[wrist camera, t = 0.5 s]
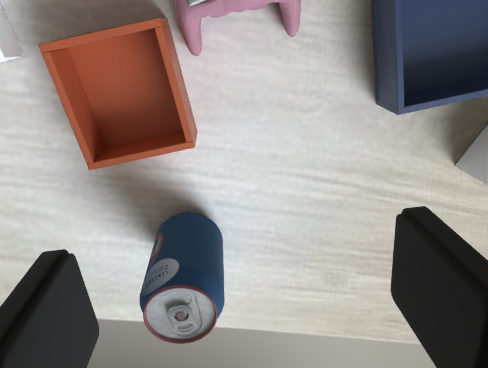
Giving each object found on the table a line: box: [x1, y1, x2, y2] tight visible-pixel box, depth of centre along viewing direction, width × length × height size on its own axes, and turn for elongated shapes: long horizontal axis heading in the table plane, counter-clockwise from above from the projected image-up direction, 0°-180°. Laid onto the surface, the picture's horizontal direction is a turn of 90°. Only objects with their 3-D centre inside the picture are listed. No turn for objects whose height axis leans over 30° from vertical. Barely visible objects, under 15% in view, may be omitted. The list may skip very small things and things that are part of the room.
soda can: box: [140, 213, 224, 344], centre depth 34 cm, size 7×7×12 cm
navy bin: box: [371, 0, 488, 115], centre depth 31 cm, size 10×14×5 cm
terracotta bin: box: [39, 18, 197, 170], centre depth 31 cm, size 10×9×5 cm
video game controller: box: [175, 0, 301, 56], centre depth 29 cm, size 10×5×7 cm, turn 101°
